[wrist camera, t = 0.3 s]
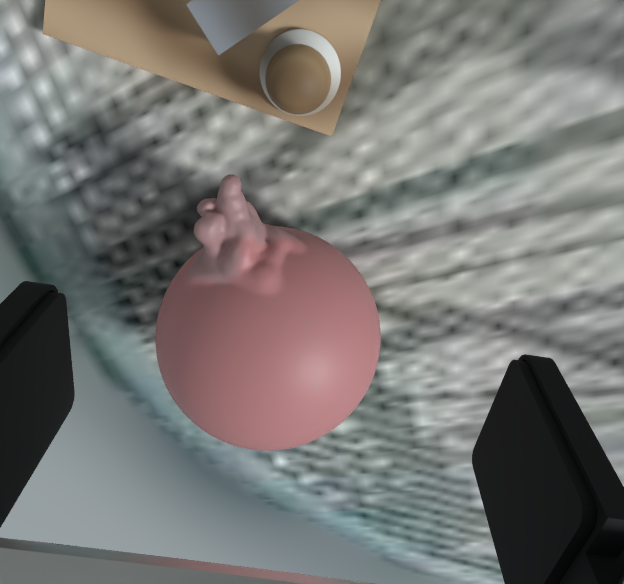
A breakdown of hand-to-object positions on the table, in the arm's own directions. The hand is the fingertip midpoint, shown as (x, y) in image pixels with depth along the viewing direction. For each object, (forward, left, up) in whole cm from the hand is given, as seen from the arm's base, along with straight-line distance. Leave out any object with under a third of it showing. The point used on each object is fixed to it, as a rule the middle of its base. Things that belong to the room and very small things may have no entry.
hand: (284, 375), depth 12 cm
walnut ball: (-1, -2, -28) cm, 28 cm away
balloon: (+13, +1, -30) cm, 33 cm away
